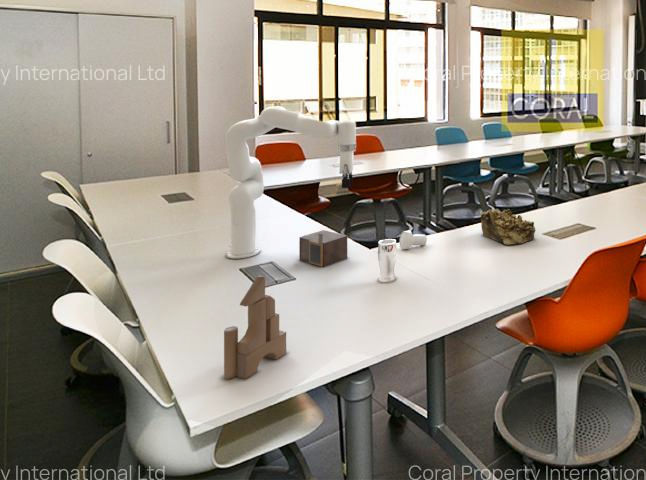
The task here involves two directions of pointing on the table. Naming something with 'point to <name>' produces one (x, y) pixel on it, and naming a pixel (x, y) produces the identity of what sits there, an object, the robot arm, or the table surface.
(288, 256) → the table surface
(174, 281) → the table surface
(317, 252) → the sliding door
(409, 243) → the spotlight
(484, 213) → the mineral
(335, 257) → the cabinet
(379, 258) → the beer glass
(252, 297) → the wooden toy
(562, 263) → the table surface
